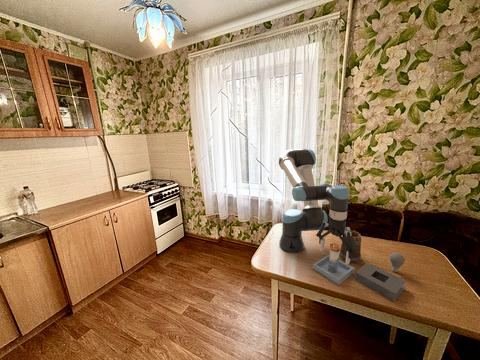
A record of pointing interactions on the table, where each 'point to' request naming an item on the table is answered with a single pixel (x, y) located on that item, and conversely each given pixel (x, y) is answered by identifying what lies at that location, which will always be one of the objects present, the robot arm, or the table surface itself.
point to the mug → (357, 241)
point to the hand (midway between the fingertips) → (334, 256)
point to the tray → (337, 277)
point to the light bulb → (396, 261)
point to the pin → (333, 257)
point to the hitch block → (380, 281)
